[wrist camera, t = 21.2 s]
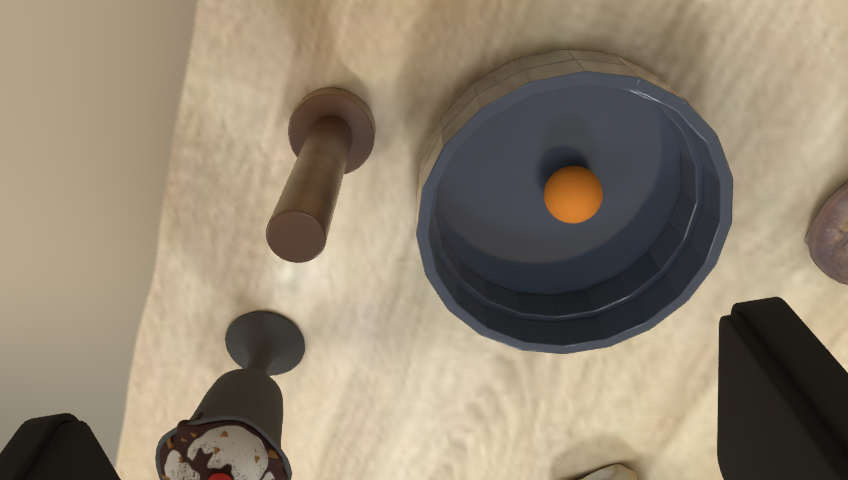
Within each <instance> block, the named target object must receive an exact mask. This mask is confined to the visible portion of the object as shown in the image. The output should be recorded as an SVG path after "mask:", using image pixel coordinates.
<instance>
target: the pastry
mask: <svg viewBox="0 0 848 480" xmlns="http://www.w3.org/2000/svg"><path fill="white" fill-rule="evenodd" d="M579 480H639V478H638V475H637V474H636V473H635V472H634V471H632V470H630V469H628V468H626V467H625V466H623V465H620V464H614V465H611V466H608V467H606V468H603V469H600V470H598V471H596V472H593V473H591V474H590V475H588V476H586V477H584V478H582V479H579Z"/></svg>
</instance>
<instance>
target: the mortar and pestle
mask: <svg viewBox="0 0 848 480" xmlns="http://www.w3.org/2000/svg"><path fill="white" fill-rule="evenodd" d="M804 242H805V243H806V244H807V245H808V247H809V252H810V256H811V258H812V259H813V261H814V262H815V264H816V265H817V266H818V267H819V268H820V269H821V270H822V271H823V272H824V273H825V274H826V275H827V276H829V277H830V278H832V279H834V280H836V281H838V282H839V283H842V284H846V285H848V182H847V183H846V184H845V185H843V186H842V187H841V188H840V189H838V190H837V191H836V192H835V193H834V194H833V195H832V196H831V197H830V198H829V199H828V200H827V201H826V203H825V204H824V206H823V208H822V209H821V211H820V212H819V214H818V215H817V217H816V218H815V220H814V221H813V223H812V225H811V228H810V230H809V232H808V234H807V237H806V239H805V241H804Z"/></svg>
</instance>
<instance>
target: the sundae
mask: <svg viewBox="0 0 848 480" xmlns="http://www.w3.org/2000/svg"><path fill="white" fill-rule="evenodd" d="M225 340H226V347H227V351H228V352H229V354H230V356H231V357H232V359H233V360H234V361H235V362H236V363H237V364H238V365H239V366H241V367H242V368H243V369H236V370H233V371H230V372H227V373H225V374H224V375H222V376H221V377H220V378H218V379H217V381H216V382H215V383H214V384H213V386H212V387H211V388H210V389H209V391H208V392H207V393H206V395H205V396H204V398H203V400H202V401H201V403H200V405H199V406H198V408H197V409H196V411H195V413H194V414H193V416H192V417H191V418H190V420H182V421H180V422H179V423H178V425H177V427H176V428H174V429H172V430H171V431H169V432H168V433H166V434H165V435H164V436H162V438H161V439H160V441H159V443H158V446H157V449H156V458H155V459H156V468H157V471H158V475H159V479H160V480H291V476H292V471H291V466H290V464H289V461H288V458H287V457H286V455H285V454H284V452H283V451H282V449H281V433H282V422H283V398H282V393H281V390H280V388H279V386H278V385H277V384H276V382H275V381H274V380H273V379H272V378H270V377H269V376H271V375H278V374H282V373H285V372H288V371H290V370H291V369H293V368H294V367H295V366H296V365H297V364H298V363H299V362H300V361H301V359H302V357H303V354H304V351H305V344H304V339H303V337H302V335H301V333H300V331H299V330H298V328H297V327H296V326H295V325H294V324H293V323H291V322H290V321H289V320H287V319H286V318H284V317H282V316H279V315H276V314H273V313H269V312H253V313H249V314H246V315H243V316H241V317H239V318H238V319H236V320H235V321H234V322H233V323H232V324H231V325H230V326H229V328H228V331H227V334H226V338H225Z"/></svg>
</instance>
